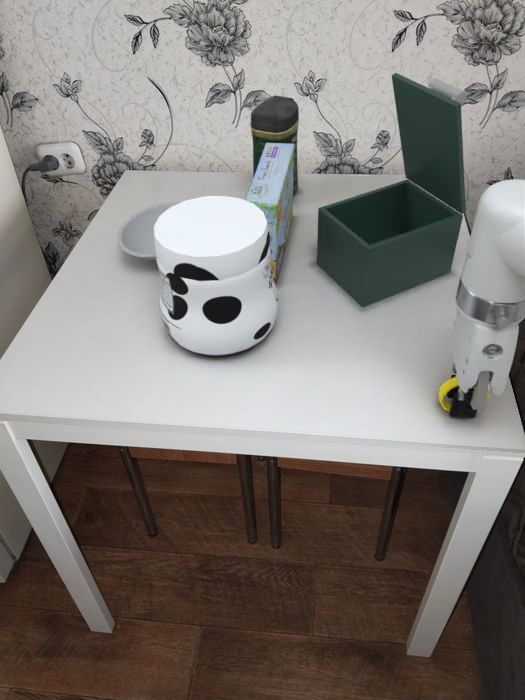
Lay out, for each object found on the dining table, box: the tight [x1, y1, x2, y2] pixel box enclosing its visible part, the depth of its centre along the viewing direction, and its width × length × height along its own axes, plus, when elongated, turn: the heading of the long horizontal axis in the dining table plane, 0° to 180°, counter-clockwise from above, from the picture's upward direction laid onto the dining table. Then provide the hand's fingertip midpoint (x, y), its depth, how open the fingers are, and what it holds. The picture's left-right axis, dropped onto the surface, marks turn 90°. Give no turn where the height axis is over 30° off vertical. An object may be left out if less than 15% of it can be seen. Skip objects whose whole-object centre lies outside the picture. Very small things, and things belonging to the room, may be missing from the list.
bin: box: [316, 179, 464, 308], centre depth 96 cm, size 18×14×11 cm
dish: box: [116, 201, 182, 261], centre depth 104 cm, size 18×14×5 cm
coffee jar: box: [250, 95, 300, 197], centre depth 112 cm, size 10×8×19 cm
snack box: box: [245, 143, 294, 285], centre depth 100 cm, size 21×6×15 cm, turn 171°
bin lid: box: [391, 72, 468, 215], centre depth 88 cm, size 18×14×5 cm
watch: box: [437, 373, 490, 412], centre depth 75 cm, size 6×3×6 cm, turn 89°
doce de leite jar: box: [154, 195, 279, 357], centre depth 84 cm, size 17×17×18 cm
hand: (460, 405), depth 76 cm, fingers closed on watch, 2 cm apart
